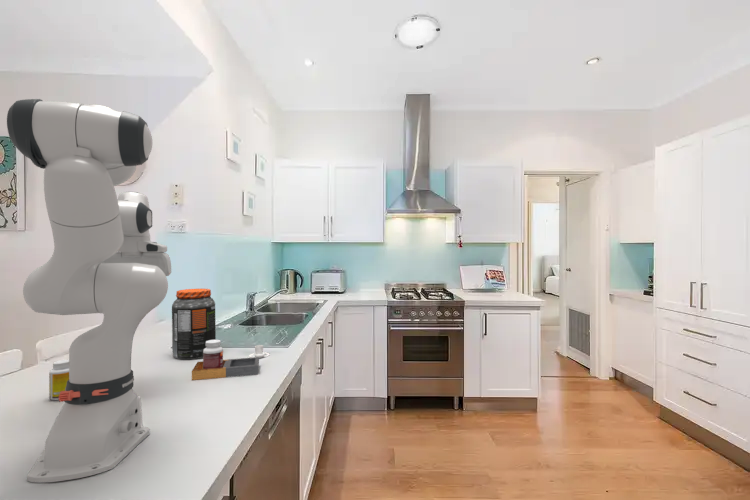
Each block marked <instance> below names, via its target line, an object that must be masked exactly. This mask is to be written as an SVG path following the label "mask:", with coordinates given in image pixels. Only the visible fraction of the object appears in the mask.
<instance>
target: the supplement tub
mask: <svg viewBox="0 0 750 500" xmlns="http://www.w3.org/2000/svg"><path fill="white" fill-rule="evenodd" d="M211 295H212V291H211V289H210V288H188V289H187V288H186V289H180V290H177V291H176V295H175V296H176V299H175V300H174V301H173V302H172V305H171V328H172V329H171V334H172V335H171V338H172V339H171V341H172V344H171V345H172V348H171V349H172V350H171V351H172V356H173V357H174V358H175V359H179V360H194V359H200V358H202V359H203V350H204V349H205V348H206V345H205V344H206V341H209V340H217V339H216V336H217V335H216V334H217V333H216V330H217V329H216V301H215V299H214V298H213V297H211Z"/></svg>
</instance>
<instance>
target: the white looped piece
mask: <svg viewBox="0 0 750 500" xmlns="http://www.w3.org/2000/svg"><path fill="white" fill-rule="evenodd" d="M269 356H270V353H269V352H266V351H265V352H264V345H263V344H257V345H255V346H254V352H253V353H250V354H249V355H248V358H254V357H259V359H262V358H266V357H269Z"/></svg>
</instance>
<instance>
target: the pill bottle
mask: <svg viewBox="0 0 750 500" xmlns="http://www.w3.org/2000/svg"><path fill="white" fill-rule="evenodd" d="M221 344H222V342H221V340H220V339H216V340H209V341H206V344H205V345H206V348H205V349H204V350H203V357H202V361H203V369H210V368H222V367H223V360H224V348H223V347H222V346H221Z"/></svg>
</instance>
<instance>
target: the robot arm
mask: <svg viewBox="0 0 750 500" xmlns="http://www.w3.org/2000/svg"><path fill="white" fill-rule="evenodd" d="M6 128H7V133H8V136H9V139H10V141H11V143H12V144H13V145H14V146H15V148H16V149H17V150H18V151H19V152H20V153H21V154H22V155H23V156H24V157H26V158H28V159H29V160H30V161H31V162H32V164H33V165H35V167H37V168H40V169H44V172H43V192H44V201H45V206H46V212H47V215H48V219H49V223H50V227H51V231H52V237H53V245H54V249H53V252H52V255H51V257H50V258H49V260H48V261H46V262H45V263H44V264H42V265H41V266H39V267H37V268H36V269H34V270H33V271H32V272H30V273H29V275H28V276H27V278H26V279H25V281H24V285H23V288H22V293H23V294H22V295H23V298H24V301H25V303H26V304H27V306H28V307H29V308H30V309H31V310H32V311H33V312H35V313H39V314H47V315H57V316H70V315H71V316H72V315H75V316H76V315H89V314H101V315H102V314H103V320H102V323H101V324H99V325H98V326H96V327H94V328H91V329H89V330H87V331H85V332H84V333H82V334H80V335H78V336H77V337H76V338H75V339H74V340H73V341H72V342H71V344H70V345H69V349H68V360H69V380H68V381H67V385H66V388H65V391H61V392H60V395H59V396H60V397H59V400H58V401H59V402H60V403H62V402H64V403H63V405H62V407H61V409H60V411H59V413H58V415H57V417H56V418H55V420H54V422H53V424H52V427H51V429H50V431H49V433H48V435H47V436H46V440H45V441H44V442H45V444H44V450H43V451H42V452H41V454H40V455H39V457H38V458H37V460H36V461H35V463H34V464H33V466H32V468H31V469H30V470H29V472H28V473H27V476H26V481H27V482H31V483H53V482H54V483H55V482H56V483H57V482H62V481H71V480H76V479H80V478H85V477H89V476H95V475H98V474H101V473H104V472H107V471H110V470H112V469H113V468H115V467H116V466H117V465H118V464H119V463H121V461H122V460H123V459H125V457H127V456H128V455H129V454H130V453H131V452H133V450H134V449H136V447H137V446H138V445H139V444H141V442H143V440H145V439H146V438H147V437H148V436H149V435H150V433H151V431H150V430H151V429H150V427H147V426H144V425H143V413H142V412H143V411H142V410H143V409H142V400H141V396H140V395H138V394H137V393H136V392H135V391H134V389H133V388H134V383H135V375H134V371H133V370H132V351H133V341H134V337H135V333H136V332H137V328H138V327H139V325H140V324H141V322H142V321H143V319H144V318H145V317H146V316H147V315H148V314H149V313H150V312H151V311H152V310H154V309H155V308H157V307H158V306H159V305H160V304H162V302H164V299H165V297H166V296H167V293H168V290H169V281H168V278H167V277H169V276H170V275H171V273H172V263H171V262H172V261H171V257H170V255H169V254H168V253H167V251H168V246H167V245H165V244H162V243H158V242H156V241H152V240H151V233H150V229H151V228H153V210H151V209H150V202H149V198H148V196H147V195H145V194H144V193H140V192H137V191H123V192H121V193H119V194H118V195H117V192H116V190H115V187H116V186H117V187H118V186H119V185H121V184H124V183H125V182H127V181H129V179H130V178H132V176H133V175H134V174H135V172H136V170H137V166H142V165H143V164H144V163H146V162H147V161H148V160H149V156H150V155H151V152H152V148H153V135H152V133H151V130H150V128H149V125H148V122H147V121H146V120H144V119H143V118H142V117H141V116H140V115H138V114H135V113H132V112H128V111H125V110H123V111H119V110H118V111H117V110H114V109H113V108H111V107H108V106H105V105H103V104H96V103H95V104H94V103H93V104H84V103H81V102H80V103H78V102H69V101H55V100H51V101H50V100H49V101H48V100H43V99H41V98H26V99H18V100H16V101H15V102H14V103H13V104H12V105H11V106H9V109H8V111H7V115H6Z"/></svg>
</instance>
